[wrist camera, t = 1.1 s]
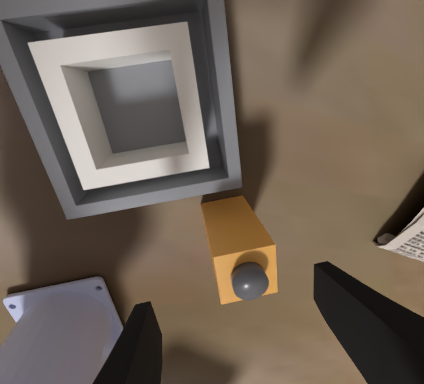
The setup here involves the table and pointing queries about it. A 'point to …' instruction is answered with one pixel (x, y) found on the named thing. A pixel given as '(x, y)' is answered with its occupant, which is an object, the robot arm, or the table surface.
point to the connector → (239, 250)
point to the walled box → (124, 98)
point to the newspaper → (406, 239)
